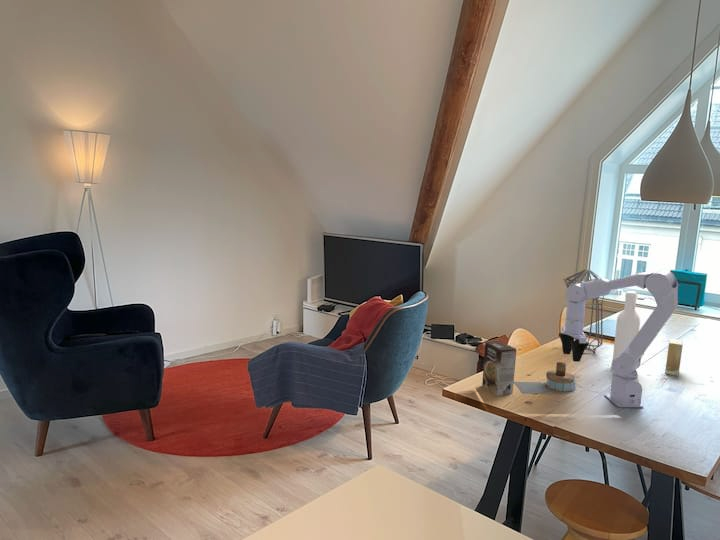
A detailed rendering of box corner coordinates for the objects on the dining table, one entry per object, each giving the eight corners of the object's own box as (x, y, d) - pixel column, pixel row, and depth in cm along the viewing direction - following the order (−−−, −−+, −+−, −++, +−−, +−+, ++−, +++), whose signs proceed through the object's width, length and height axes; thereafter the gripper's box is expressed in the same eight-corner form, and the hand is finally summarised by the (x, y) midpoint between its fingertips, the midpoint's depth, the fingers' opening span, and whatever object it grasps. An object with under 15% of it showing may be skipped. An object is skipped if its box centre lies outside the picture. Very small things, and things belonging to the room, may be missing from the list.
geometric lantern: (607, 358, 210) (614, 273, 204) (566, 356, 213) (572, 272, 207) (596, 346, 226) (602, 266, 220) (558, 344, 228) (563, 266, 222)
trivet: (552, 395, 170) (552, 393, 170) (522, 395, 170) (522, 393, 170) (541, 384, 180) (541, 382, 180) (513, 383, 180) (513, 381, 180)
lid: (579, 383, 173) (580, 368, 172) (552, 383, 172) (553, 368, 171) (567, 373, 182) (568, 359, 181) (542, 373, 181) (543, 359, 180)
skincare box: (665, 369, 199) (669, 338, 197) (678, 371, 197) (682, 340, 195) (665, 374, 194) (669, 342, 192) (678, 376, 191) (682, 344, 189)
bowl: (579, 393, 173) (580, 383, 173) (552, 392, 173) (553, 383, 172) (568, 383, 182) (569, 373, 181) (542, 382, 182) (543, 373, 181)
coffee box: (481, 387, 176) (484, 341, 174) (497, 385, 178) (500, 340, 176) (497, 398, 168) (500, 350, 165) (513, 395, 170) (517, 348, 167)
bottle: (606, 367, 200) (614, 290, 195) (620, 364, 203) (628, 289, 198) (625, 374, 193) (634, 294, 188) (639, 371, 196) (648, 293, 191)
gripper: (554, 313, 182) (551, 350, 185) (572, 324, 168) (569, 364, 170) (574, 313, 183) (571, 350, 185) (594, 324, 168) (590, 364, 170)
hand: (571, 357), depth 178 cm, fingers open, 7 cm apart
